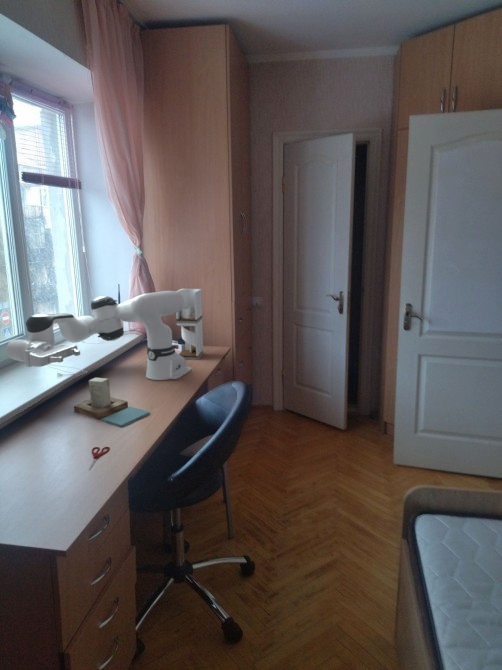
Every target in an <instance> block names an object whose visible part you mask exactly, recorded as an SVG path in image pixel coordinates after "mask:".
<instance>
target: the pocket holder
mask: <svg viewBox="0 0 502 670" xmlns="http://www.w3.org/2000/svg"><path fill="white" fill-rule="evenodd" d="M110 399H111V404H110V405H108V406H106V407H103V408H101V409H98V408H95V407H92V406H91V398H90V399H88V400H87V399H86V400H85V401H83V402H79V403H77V404H73V412H74V413H75V414H76V413H77V414H80V415H83V416H86V417H89V418H91V419H95V420H98V421H100V420H102V419H103V418H105V417H107V416H110V415H112V414H114V413H117V412H119V411H121V410H124V409H126V408H128V407H129V405H128V403H129V402H128V401H127V400H124V399H120V398H117V397H113V396H110Z"/></svg>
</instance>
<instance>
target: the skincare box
mask: <svg viewBox="0 0 502 670" xmlns="http://www.w3.org/2000/svg"><path fill="white" fill-rule="evenodd" d="M88 387H89V388H88V389H89V396H90V399H91V406H92V407H95V408H98V409H101V408H103V407H106V406H108V405H110V404H111V399H110V397H111V392H110V381H109V378H105V377H94V378H91V379H89V380H88Z"/></svg>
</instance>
